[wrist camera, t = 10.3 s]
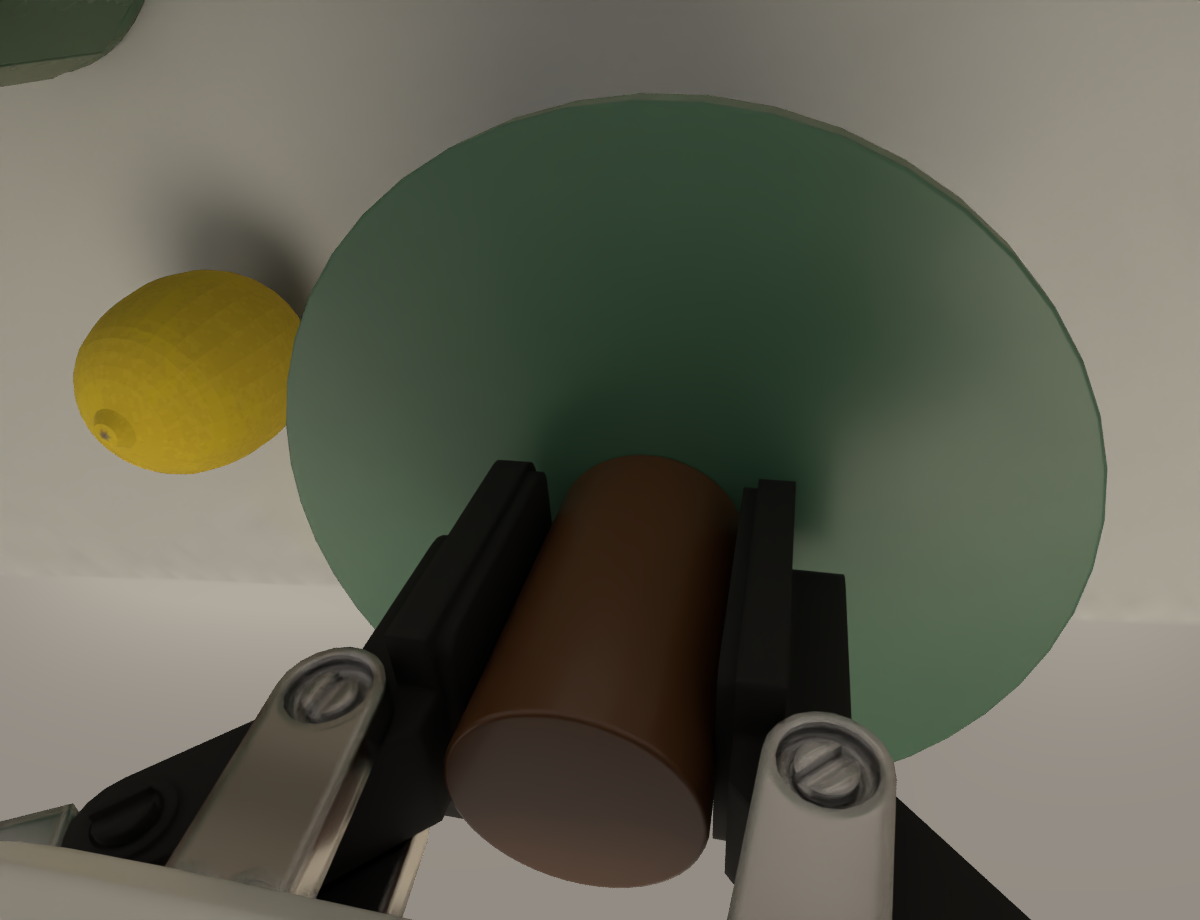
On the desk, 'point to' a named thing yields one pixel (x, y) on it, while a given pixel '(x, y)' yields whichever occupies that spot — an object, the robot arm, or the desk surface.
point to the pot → (58, 35)
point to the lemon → (188, 371)
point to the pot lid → (693, 442)
